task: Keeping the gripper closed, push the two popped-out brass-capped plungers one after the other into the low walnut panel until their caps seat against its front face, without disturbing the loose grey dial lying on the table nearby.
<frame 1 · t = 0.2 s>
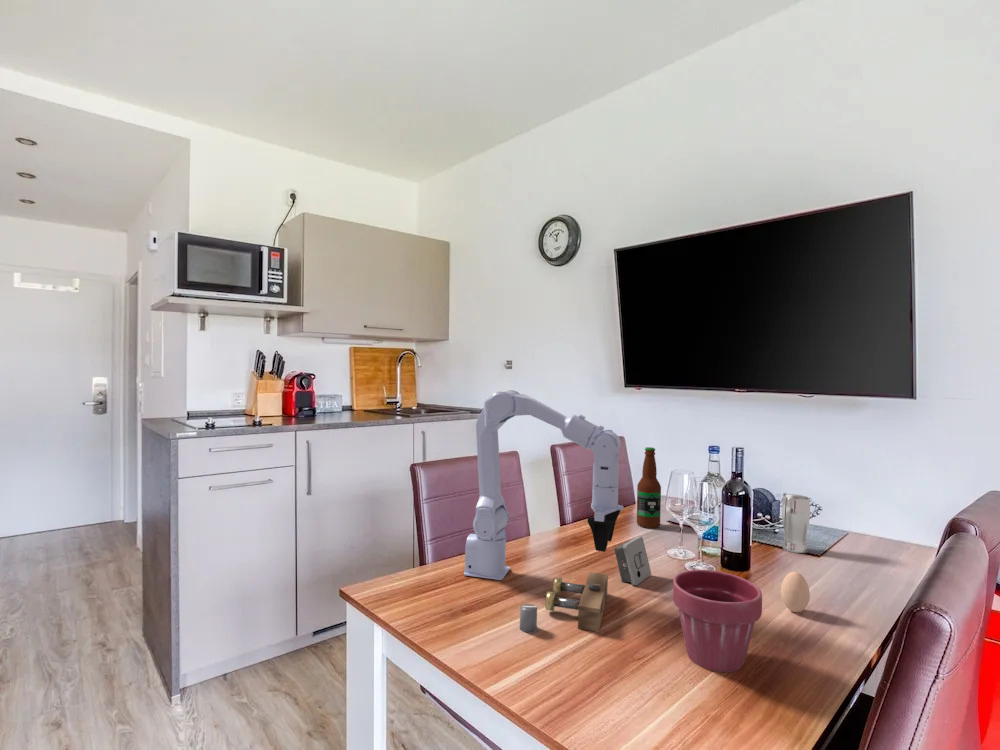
hand: (603, 545, 120), 10 cm above the table, fingers open, 7 cm apart
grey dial: (528, 628, 101), on the table
near plunger: (566, 603, 107), point 2 cm above the table, slide at 0.0 cm
beer glass: (794, 550, 150), on the table
walnut panel: (593, 609, 110), on the table
plant pot: (714, 659, 92), on the table
bottle: (648, 526, 171), on the table
far plunger: (572, 587, 115), point 2 cm above the table, slide at 0.0 cm
egg: (794, 612, 111), on the table
electrical switch: (632, 579, 127), on the table
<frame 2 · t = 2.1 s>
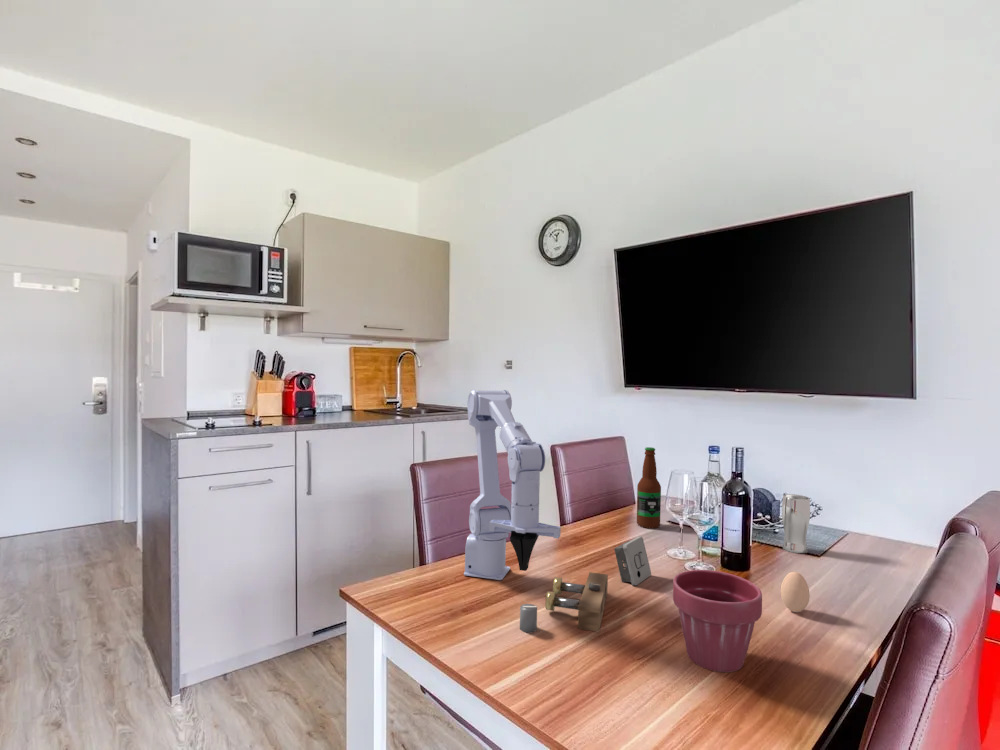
hand: (523, 568, 110), 8 cm above the table, fingers closed
nothing on the table moved.
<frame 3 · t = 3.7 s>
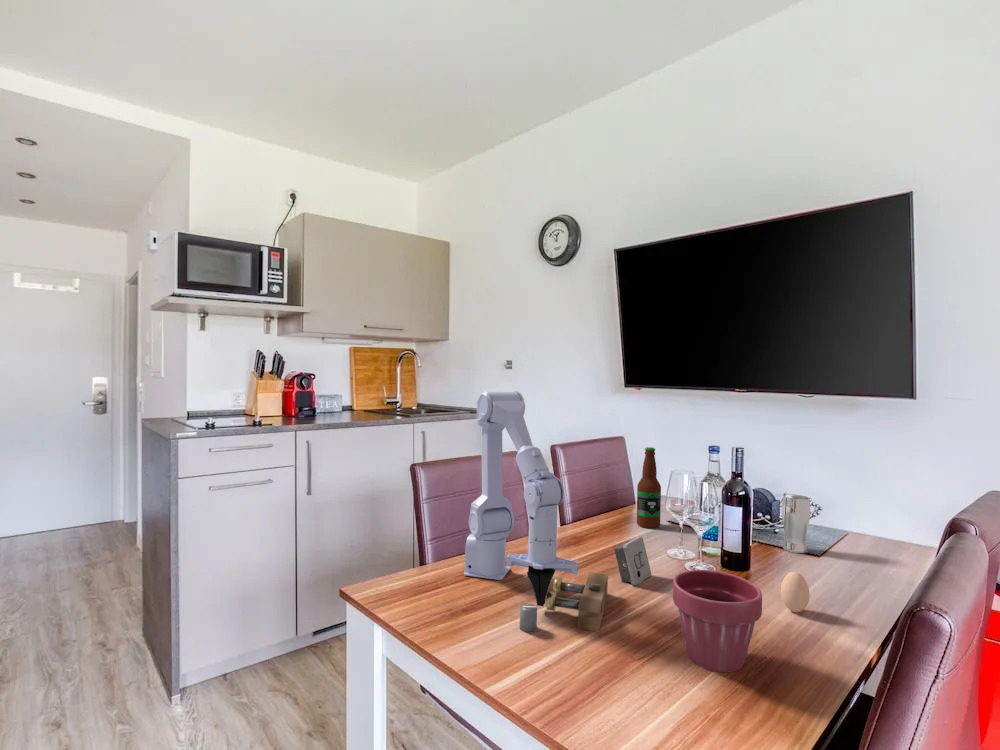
hand: (541, 604, 109), 1 cm above the table, fingers closed
near plunger: (567, 603, 107), point 2 cm above the table, slide at 0.2 cm, touching gripper
everything else where it was.
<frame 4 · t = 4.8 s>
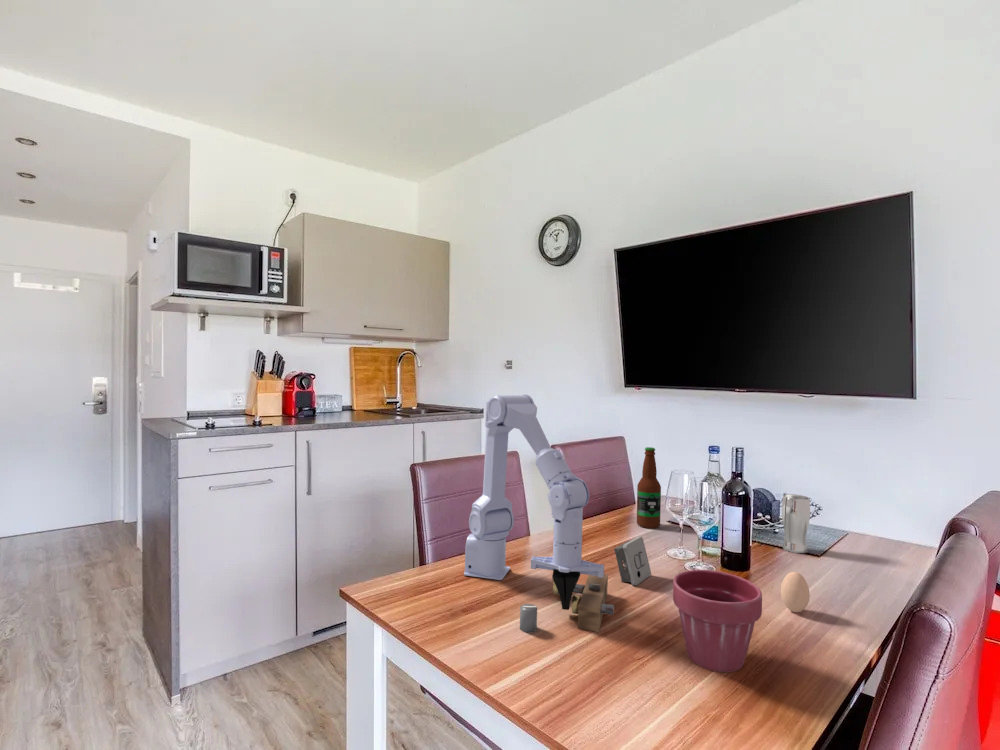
hand: (566, 607, 107), 1 cm above the table, fingers closed
near plunger: (593, 607, 106), point 2 cm above the table, slide at 5.3 cm, touching gripper
everything else where it was.
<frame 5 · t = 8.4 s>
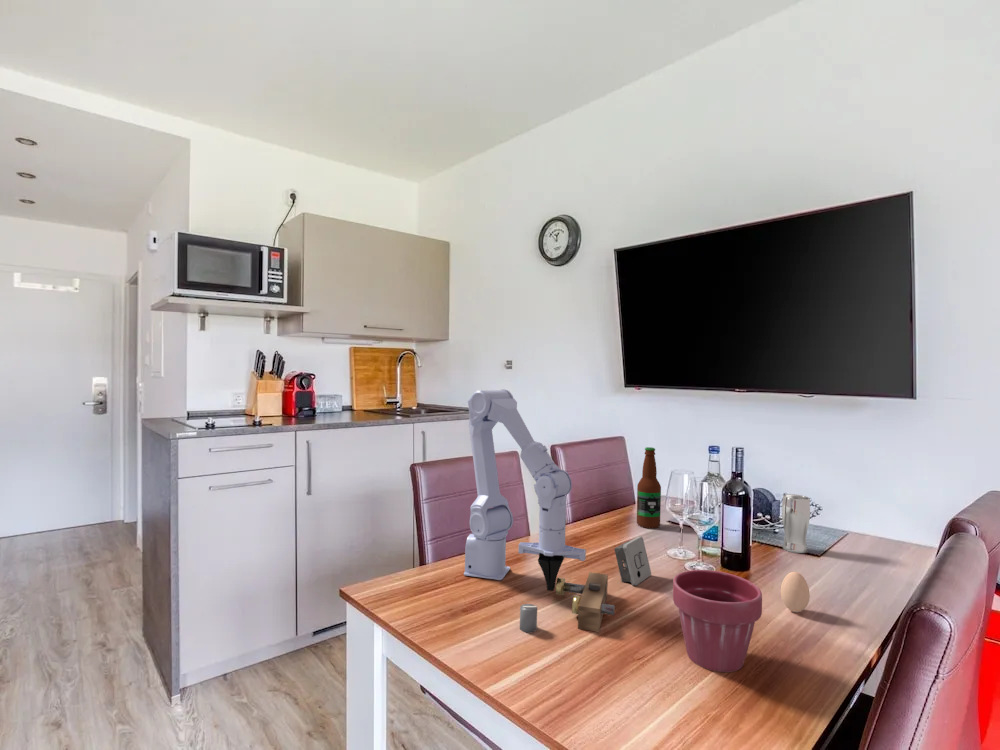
hand: (550, 589, 116), 1 cm above the table, fingers closed
near plunger: (593, 607, 106), point 2 cm above the table, slide at 5.4 cm
far plunger: (575, 588, 115), point 2 cm above the table, slide at 0.7 cm, touching gripper
everything else where it was.
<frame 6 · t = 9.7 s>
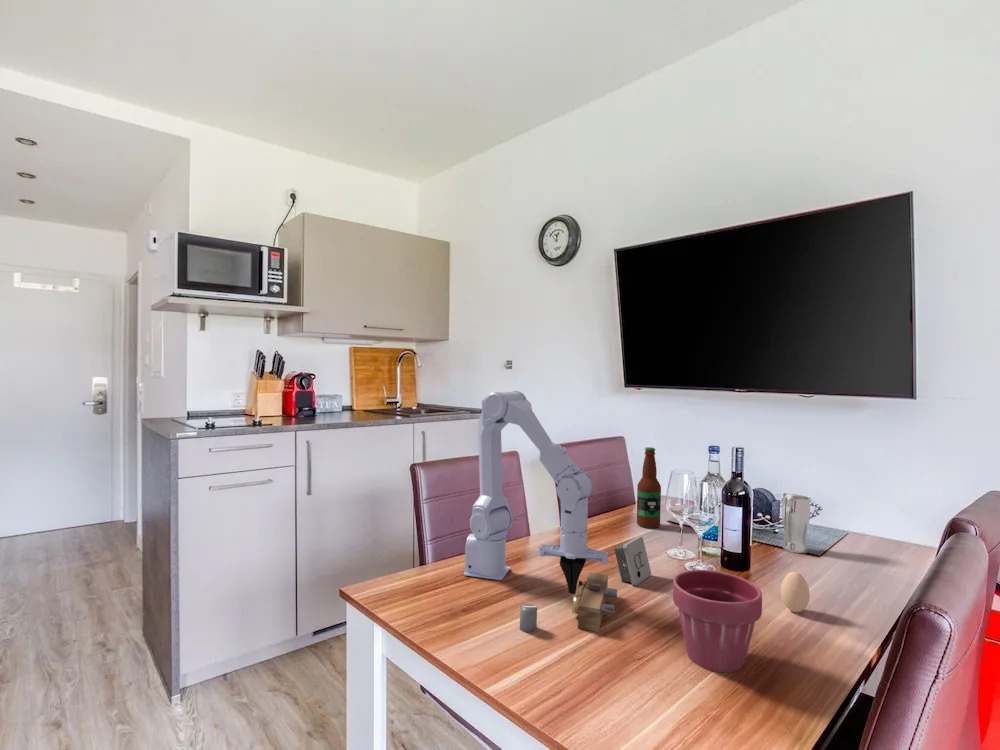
hand: (572, 592, 115), 1 cm above the table, fingers closed
far plunger: (597, 591, 113), point 2 cm above the table, slide at 5.4 cm, touching gripper
everything else where it was.
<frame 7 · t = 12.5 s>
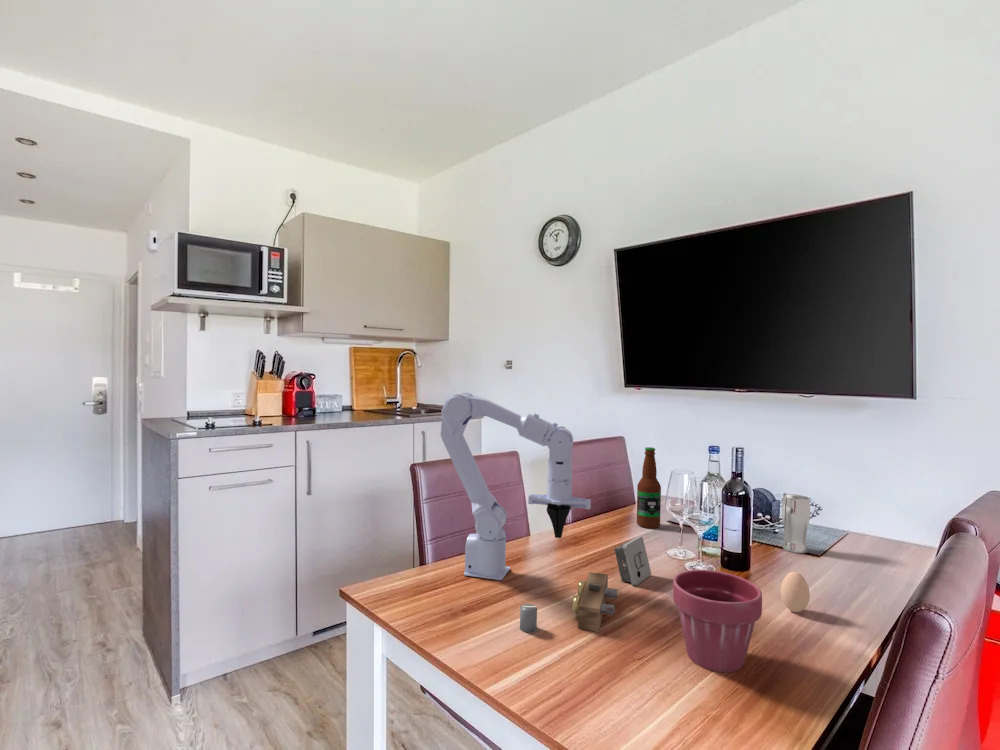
hand: (558, 536, 126), 10 cm above the table, fingers closed
far plunger: (597, 591, 113), point 2 cm above the table, slide at 5.4 cm
everything else where it was.
at the end: near plunger slide at 5.4 cm; far plunger slide at 5.4 cm; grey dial moved 0.1 cm from its start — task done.
